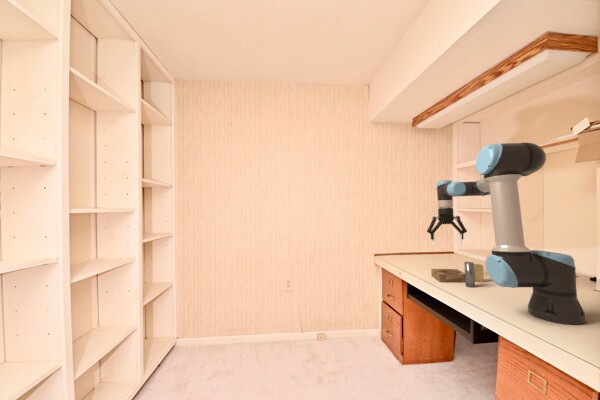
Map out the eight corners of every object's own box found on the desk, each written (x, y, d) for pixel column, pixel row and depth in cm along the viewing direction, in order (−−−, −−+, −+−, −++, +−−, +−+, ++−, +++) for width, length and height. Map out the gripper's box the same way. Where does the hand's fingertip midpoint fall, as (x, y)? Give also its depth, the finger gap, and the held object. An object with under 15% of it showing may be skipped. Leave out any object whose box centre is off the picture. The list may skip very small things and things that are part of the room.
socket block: (468, 282, 141) (467, 275, 141) (439, 282, 143) (439, 274, 143) (457, 276, 154) (456, 269, 155) (431, 275, 157) (431, 268, 157)
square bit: (483, 282, 140) (482, 265, 141) (475, 282, 141) (474, 265, 141) (480, 280, 144) (479, 263, 145) (472, 280, 145) (471, 263, 145)
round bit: (476, 287, 132) (475, 263, 132) (467, 287, 132) (466, 263, 133) (472, 285, 136) (471, 261, 136) (464, 285, 136) (463, 261, 137)
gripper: (466, 207, 152) (468, 244, 151) (420, 208, 156) (421, 244, 155) (472, 207, 144) (474, 246, 144) (424, 208, 149) (425, 246, 148)
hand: (447, 245), depth 149 cm, fingers open, 13 cm apart
